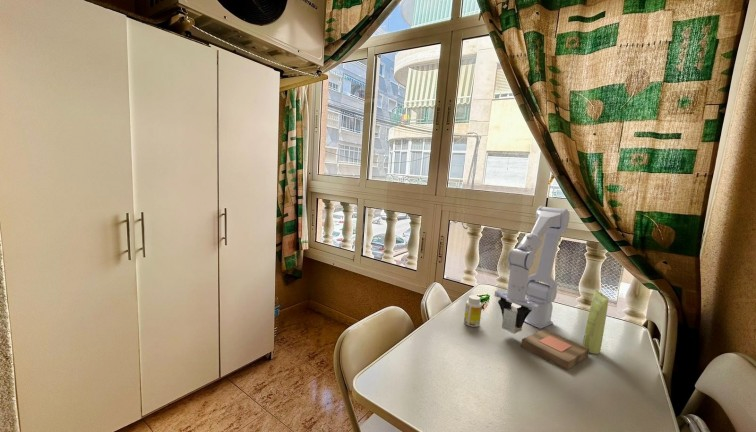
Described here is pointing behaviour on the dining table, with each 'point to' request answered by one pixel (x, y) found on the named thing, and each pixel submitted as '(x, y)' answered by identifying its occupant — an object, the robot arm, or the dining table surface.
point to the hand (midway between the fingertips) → (512, 323)
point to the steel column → (510, 320)
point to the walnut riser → (555, 348)
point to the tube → (596, 323)
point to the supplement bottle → (473, 311)
